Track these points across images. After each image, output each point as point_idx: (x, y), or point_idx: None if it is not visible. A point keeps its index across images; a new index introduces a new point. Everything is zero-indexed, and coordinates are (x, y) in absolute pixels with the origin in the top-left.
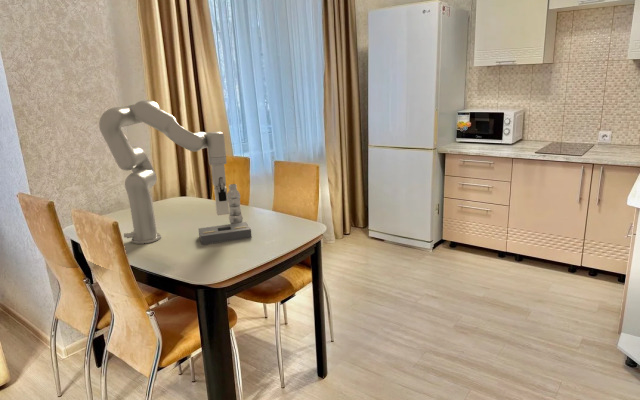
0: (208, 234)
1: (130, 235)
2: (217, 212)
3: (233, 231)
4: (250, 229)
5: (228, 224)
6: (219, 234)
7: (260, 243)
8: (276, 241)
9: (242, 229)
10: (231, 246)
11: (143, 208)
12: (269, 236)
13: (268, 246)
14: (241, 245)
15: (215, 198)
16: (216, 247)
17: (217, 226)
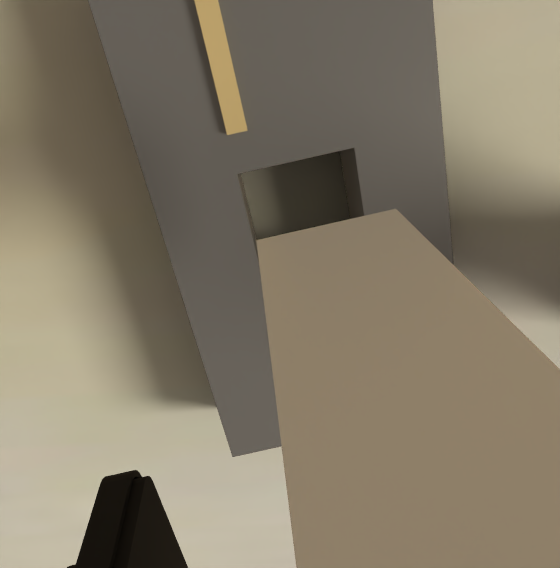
0: (137, 64)
1: None
2: (260, 257)
3: (196, 324)
4: (231, 452)
5: (448, 256)
6: (149, 189)
7: (87, 469)
8: None
9: (241, 394)
10: (37, 278)
11: None
12: (231, 512)
13: (18, 516)
14: (55, 351)
15: (439, 352)
16: (18, 148)
17: (420, 143)
